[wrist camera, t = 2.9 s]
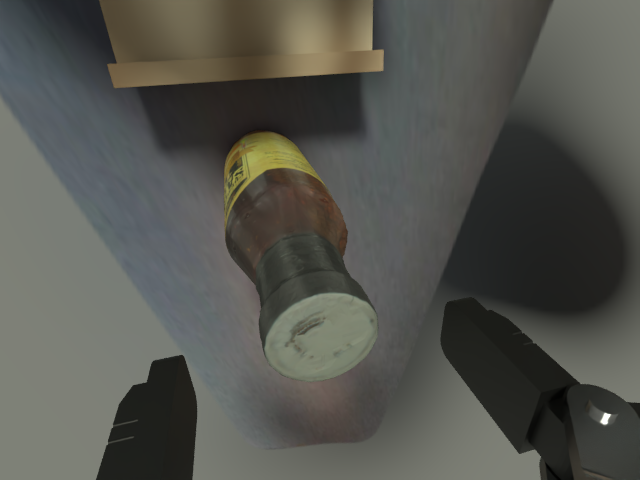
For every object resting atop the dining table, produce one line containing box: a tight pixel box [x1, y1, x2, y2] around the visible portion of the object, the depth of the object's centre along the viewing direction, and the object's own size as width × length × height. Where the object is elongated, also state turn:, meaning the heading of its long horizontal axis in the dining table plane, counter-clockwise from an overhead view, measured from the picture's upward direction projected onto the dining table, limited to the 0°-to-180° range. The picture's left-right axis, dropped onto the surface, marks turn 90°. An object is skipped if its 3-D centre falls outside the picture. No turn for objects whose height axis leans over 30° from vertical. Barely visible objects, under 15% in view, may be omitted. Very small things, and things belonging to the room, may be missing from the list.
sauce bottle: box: [224, 130, 378, 382], centre depth 20 cm, size 6×6×20 cm
